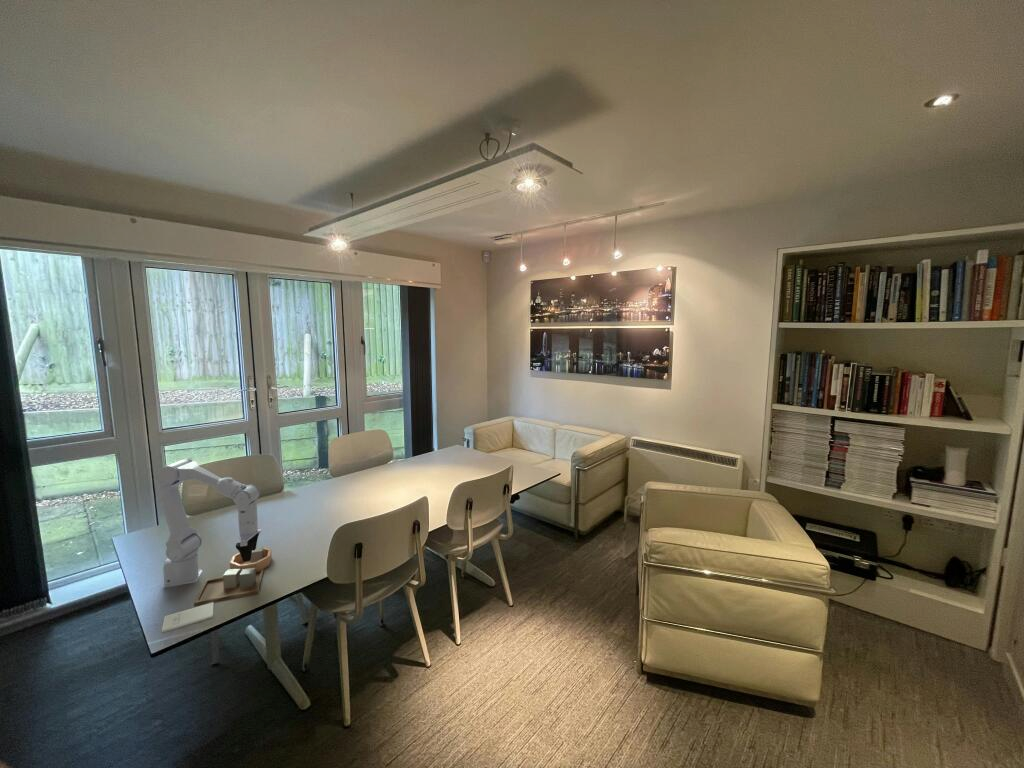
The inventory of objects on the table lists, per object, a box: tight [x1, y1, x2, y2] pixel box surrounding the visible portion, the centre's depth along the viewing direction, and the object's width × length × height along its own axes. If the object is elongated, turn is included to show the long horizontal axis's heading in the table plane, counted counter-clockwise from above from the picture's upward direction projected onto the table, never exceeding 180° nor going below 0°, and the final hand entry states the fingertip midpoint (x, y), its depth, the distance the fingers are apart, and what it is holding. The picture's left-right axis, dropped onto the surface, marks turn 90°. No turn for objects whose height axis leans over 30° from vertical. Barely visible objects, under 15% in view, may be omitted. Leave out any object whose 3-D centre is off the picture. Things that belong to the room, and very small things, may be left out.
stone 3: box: [250, 546, 265, 563], centre depth 158 cm, size 4×4×5 cm
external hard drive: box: [161, 601, 215, 634], centre depth 127 cm, size 2×8×12 cm
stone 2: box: [239, 568, 256, 588], centre depth 144 cm, size 4×4×5 cm
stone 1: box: [222, 568, 240, 588], centre depth 143 cm, size 4×4×5 cm
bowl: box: [229, 547, 273, 573], centre depth 156 cm, size 13×13×4 cm
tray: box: [193, 569, 265, 606], centre depth 142 cm, size 18×14×1 cm
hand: (249, 555), depth 147 cm, fingers open, 7 cm apart
